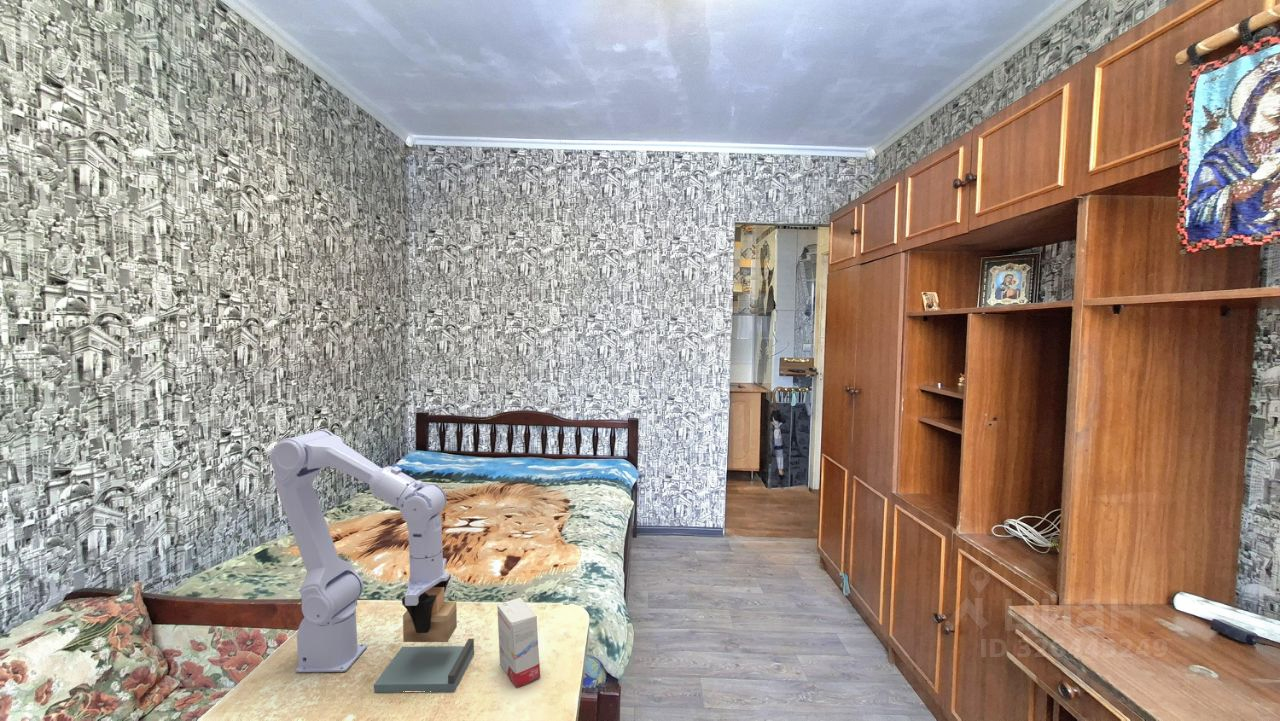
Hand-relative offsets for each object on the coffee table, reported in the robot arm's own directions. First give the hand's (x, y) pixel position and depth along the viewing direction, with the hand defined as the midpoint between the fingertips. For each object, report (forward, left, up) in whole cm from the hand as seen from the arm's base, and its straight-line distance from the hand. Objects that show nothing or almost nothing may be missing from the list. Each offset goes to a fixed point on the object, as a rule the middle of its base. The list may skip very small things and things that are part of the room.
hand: (428, 623), depth 99 cm
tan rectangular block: (0, 0, -2) cm, 2 cm away
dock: (0, -2, -8) cm, 9 cm away
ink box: (+17, -2, -9) cm, 19 cm away
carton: (0, 0, +3) cm, 3 cm away
